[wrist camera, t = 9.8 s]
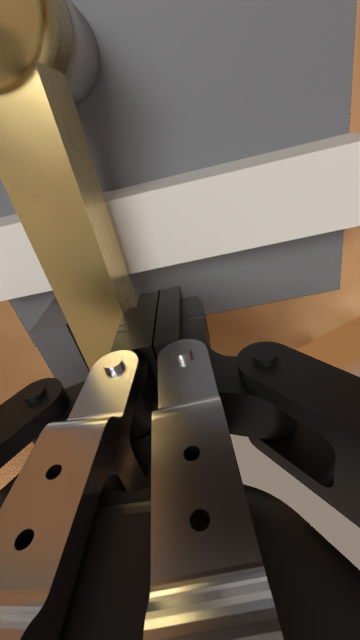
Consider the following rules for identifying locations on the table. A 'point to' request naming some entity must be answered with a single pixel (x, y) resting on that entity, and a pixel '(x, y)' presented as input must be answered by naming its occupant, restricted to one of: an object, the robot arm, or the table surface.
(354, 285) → the table surface
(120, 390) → the robot arm
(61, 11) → the swing bar
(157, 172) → the lock board
